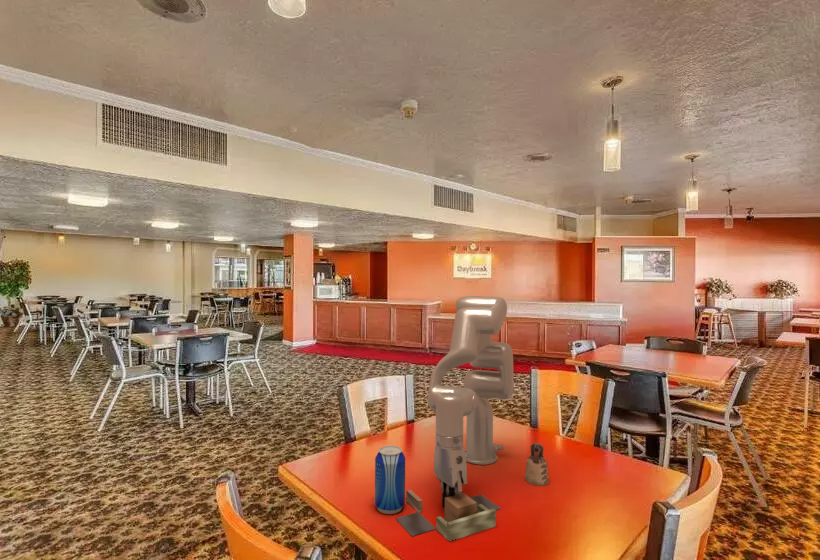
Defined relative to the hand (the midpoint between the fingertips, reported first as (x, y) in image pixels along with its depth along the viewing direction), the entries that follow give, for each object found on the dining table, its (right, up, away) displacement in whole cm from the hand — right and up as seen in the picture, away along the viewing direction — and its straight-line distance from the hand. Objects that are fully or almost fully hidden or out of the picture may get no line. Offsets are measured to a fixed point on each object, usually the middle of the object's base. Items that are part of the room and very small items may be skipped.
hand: (448, 507), depth 115 cm
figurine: (+30, -3, +20) cm, 36 cm away
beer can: (-16, -2, +3) cm, 17 cm away
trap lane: (0, -2, 0) cm, 2 cm away
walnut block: (+3, -2, -5) cm, 6 cm away
